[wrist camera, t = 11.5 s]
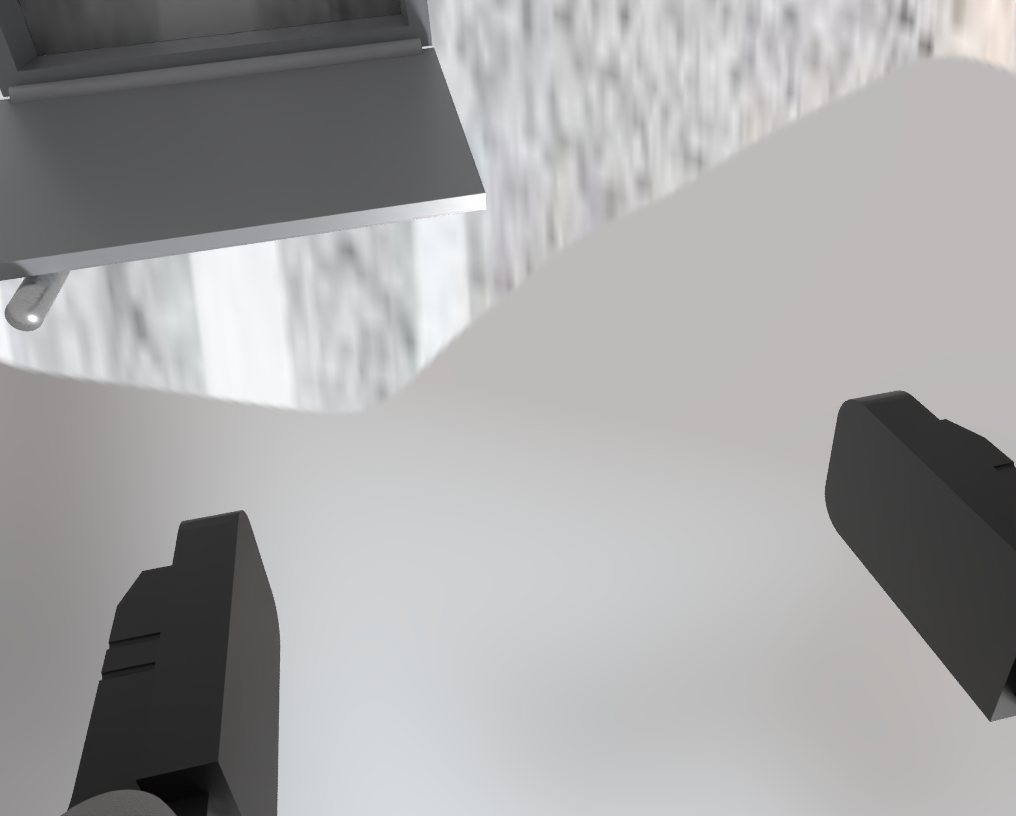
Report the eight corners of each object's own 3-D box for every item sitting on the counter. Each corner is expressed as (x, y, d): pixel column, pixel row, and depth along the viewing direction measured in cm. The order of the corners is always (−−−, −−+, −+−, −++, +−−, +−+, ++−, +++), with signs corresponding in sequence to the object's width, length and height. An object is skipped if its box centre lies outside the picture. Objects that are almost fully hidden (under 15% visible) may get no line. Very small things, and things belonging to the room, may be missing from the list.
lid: (484, 182, 26) (486, 209, 27) (431, 32, 33) (433, 57, 34) (-68, 261, 24) (-50, 288, 25) (-4, 84, 31) (8, 109, 32)
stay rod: (136, 127, 36) (61, 256, 24) (160, 201, 37) (99, 354, 26) (56, 137, 35) (-59, 273, 24) (84, 211, 37) (-12, 371, 25)
